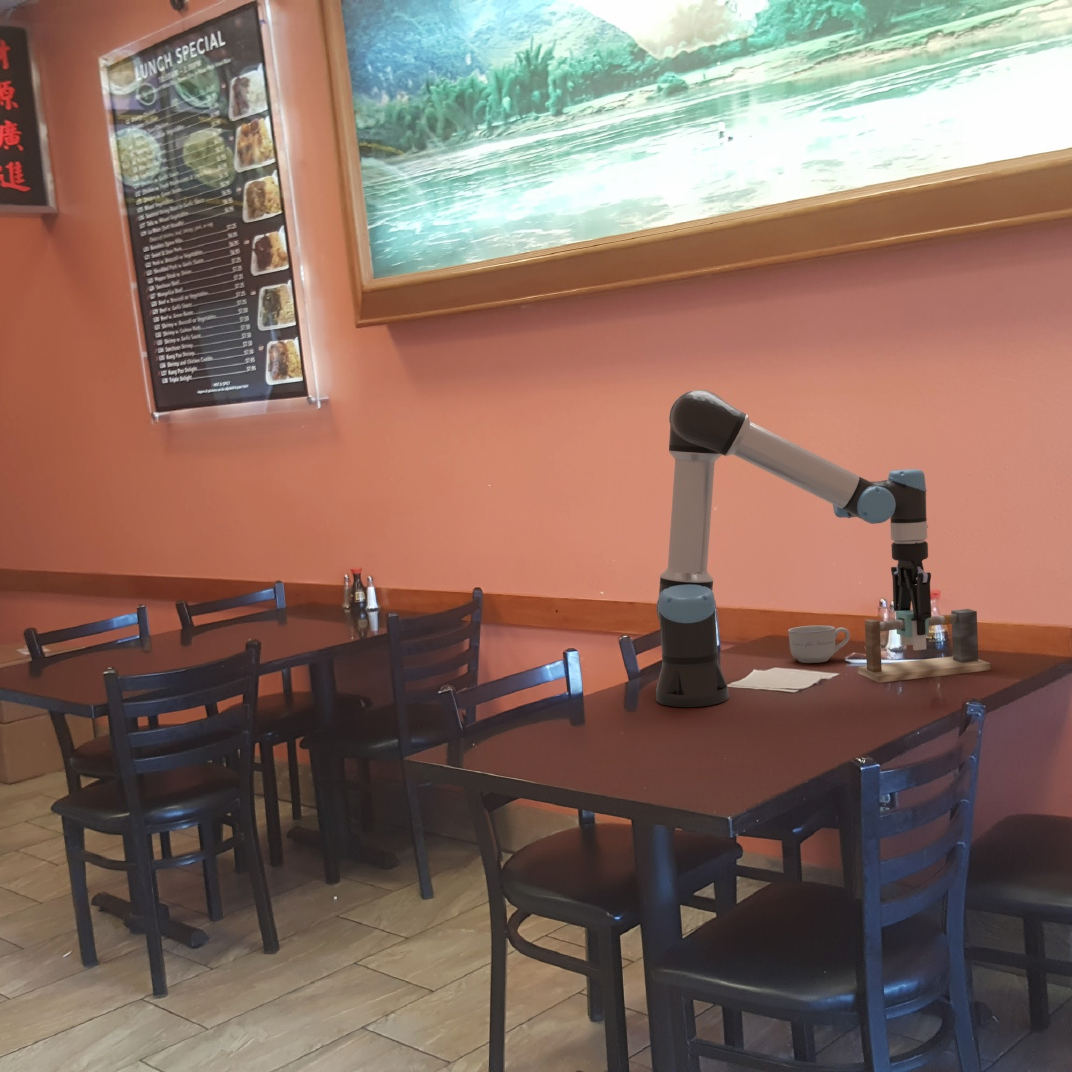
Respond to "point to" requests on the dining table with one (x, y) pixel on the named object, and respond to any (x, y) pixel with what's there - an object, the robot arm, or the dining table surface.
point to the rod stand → (956, 664)
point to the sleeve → (908, 623)
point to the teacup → (815, 642)
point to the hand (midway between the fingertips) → (913, 646)
